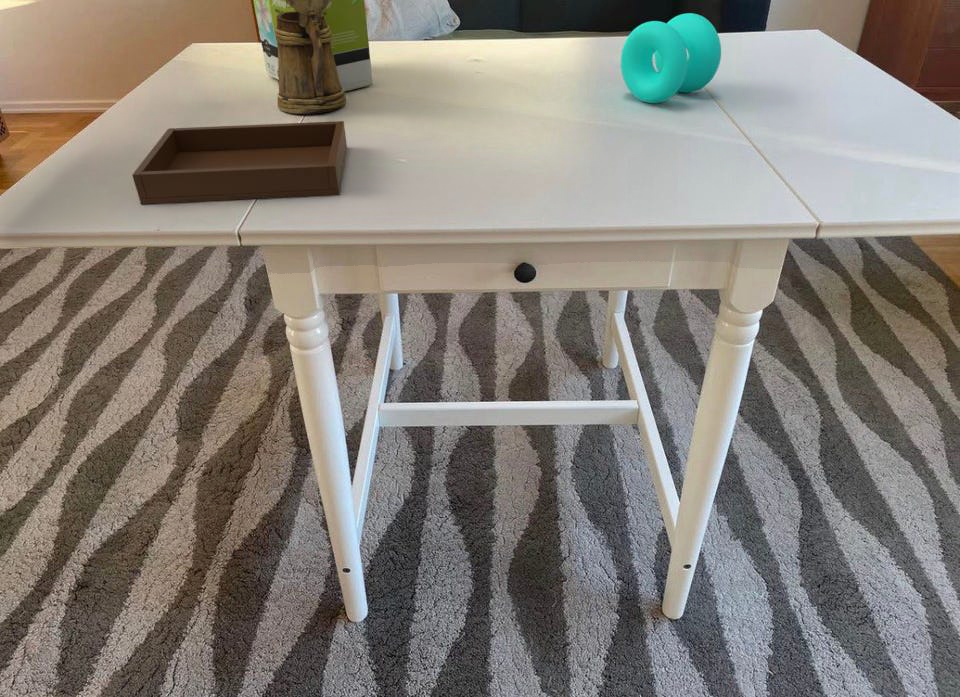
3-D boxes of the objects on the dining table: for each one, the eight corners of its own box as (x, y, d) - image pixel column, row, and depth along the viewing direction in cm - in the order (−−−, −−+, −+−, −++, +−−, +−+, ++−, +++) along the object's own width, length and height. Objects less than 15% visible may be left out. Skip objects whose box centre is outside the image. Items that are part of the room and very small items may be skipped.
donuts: (718, 97, 98) (732, 17, 92) (671, 113, 93) (683, 29, 87) (659, 82, 104) (669, 6, 99) (612, 95, 99) (620, 17, 93)
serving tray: (140, 204, 72) (131, 174, 70) (175, 154, 83) (167, 128, 81) (339, 194, 73) (335, 165, 72) (347, 147, 84) (343, 120, 83)
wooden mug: (297, 129, 89) (270, -35, 79) (271, 101, 99) (245, -48, 89) (365, 118, 93) (349, -41, 82) (334, 92, 102) (315, -53, 92)
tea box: (264, 78, 109) (244, -33, 100) (323, 66, 114) (309, -40, 105) (313, 99, 99) (295, -21, 91) (375, 85, 104) (364, -29, 96)
